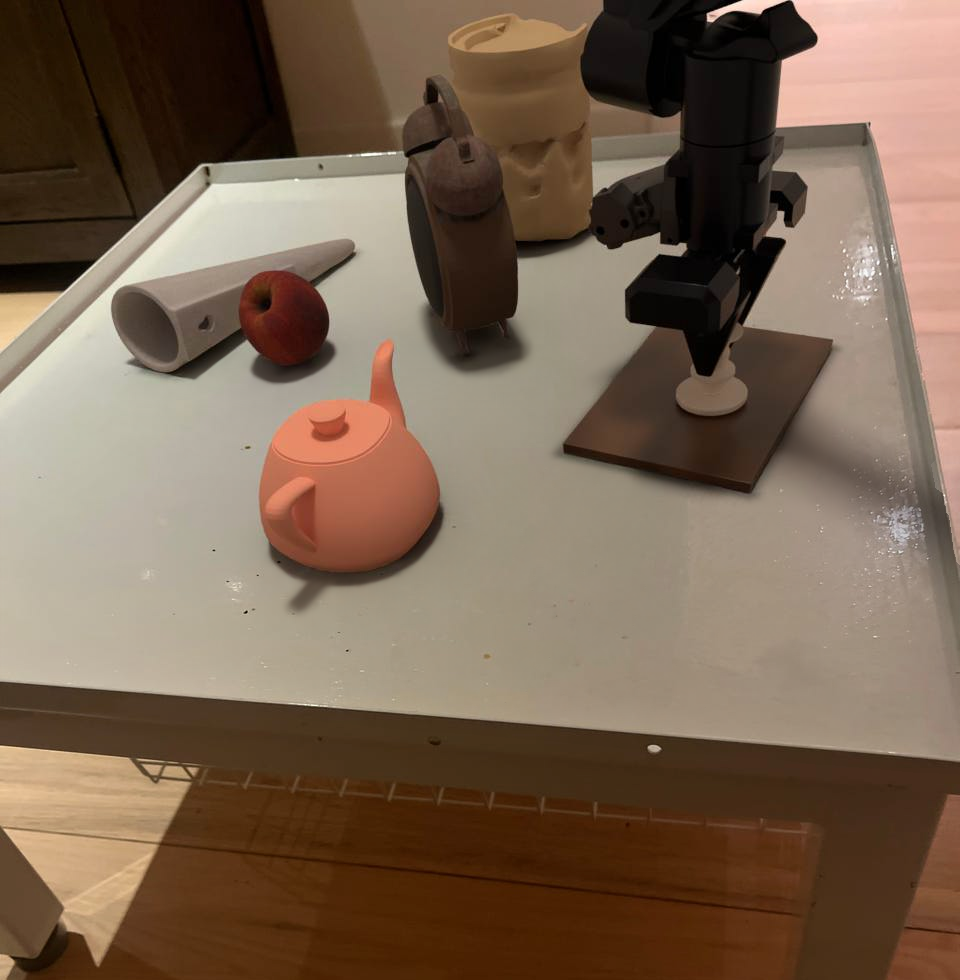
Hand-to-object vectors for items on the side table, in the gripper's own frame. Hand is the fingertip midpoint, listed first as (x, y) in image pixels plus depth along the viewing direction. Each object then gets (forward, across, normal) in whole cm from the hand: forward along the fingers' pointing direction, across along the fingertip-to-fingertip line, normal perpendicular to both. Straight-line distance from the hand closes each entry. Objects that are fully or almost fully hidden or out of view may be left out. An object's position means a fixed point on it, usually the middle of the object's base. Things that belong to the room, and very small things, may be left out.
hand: (714, 360), depth 70 cm
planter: (+4, -3, -48) cm, 48 cm away
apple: (+4, +4, -37) cm, 38 cm away
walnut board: (+4, -1, -1) cm, 4 cm away
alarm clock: (+4, -5, -24) cm, 25 cm away
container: (+4, -25, -28) cm, 38 cm away
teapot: (+4, +21, -18) cm, 28 cm away
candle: (+3, 0, 0) cm, 3 cm away
